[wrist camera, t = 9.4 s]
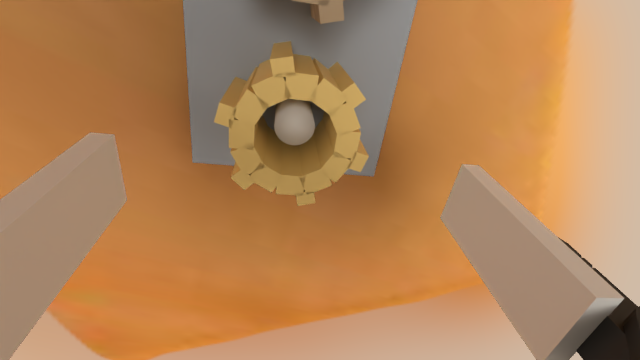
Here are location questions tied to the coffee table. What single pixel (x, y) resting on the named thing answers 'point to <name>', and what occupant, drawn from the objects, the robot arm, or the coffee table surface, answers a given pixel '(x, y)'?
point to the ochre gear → (264, 145)
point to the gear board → (306, 39)
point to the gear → (326, 10)
